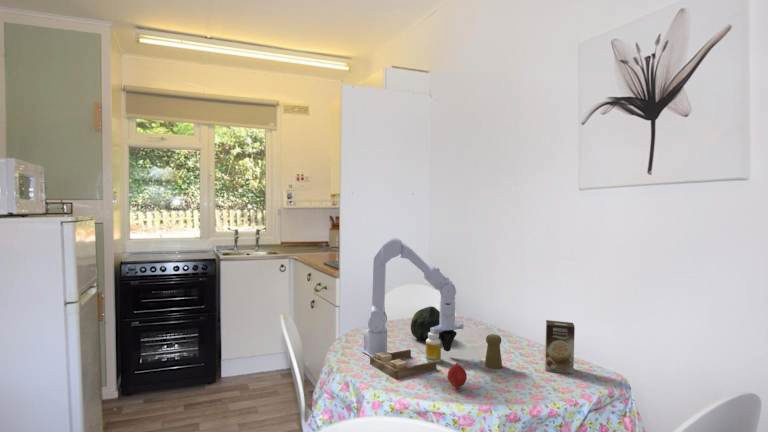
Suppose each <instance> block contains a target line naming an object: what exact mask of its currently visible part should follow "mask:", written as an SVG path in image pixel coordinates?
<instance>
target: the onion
mask: <svg viewBox="0 0 768 432" xmlns="http://www.w3.org/2000/svg"><path fill="white" fill-rule="evenodd" d="M467 375H468V374H467V372H466V370H465V369H464V367H463V366H461V365H460V363H459V362H455V364H454V365H452V366H451V367H450V368H449V369H448V371H447V376H446V377H447V380H448V382H449V384H450V385H451V386H452V387H454V388H455V389H460V388H461V387H462V386H463V385H465V384H466V382H467V379H468V377H467Z"/></svg>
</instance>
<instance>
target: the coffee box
mask: <svg viewBox="0 0 768 432" xmlns="http://www.w3.org/2000/svg"><path fill="white" fill-rule="evenodd" d="M575 331H576V328H575V324H574V323H573V322H569V321H561V320H560V321H559V320H549V319H546V320H545V345H544V370H545V372H546V371H547V372H552V373H553V372H556V373H562V374H568V373H570V375H574V364H575V362H574V361H575Z"/></svg>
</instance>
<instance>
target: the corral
mask: <svg viewBox="0 0 768 432" xmlns="http://www.w3.org/2000/svg"><path fill="white" fill-rule="evenodd" d="M389 354H391V355H392V361H393V360H397V359H400V360H402V359H406V358H411V357H412V350H411V349H405V350H399V351H394V352H390V353H389ZM437 363H438V362H436V361H433V362H429V361H427V362H425V363H419V364H415V365H410V366H407V367H406V368H401V369H397V370H396V369H394V368H392V367H390V366H389V365H387V364H385V363H383V362H381V361H380V360H378V359H376V356H373V357H371V356H369V365H371V366H372V367H374V368H376V369H377V370H379V371H381V372H382V373H384V374H386V375H388V376H389V377H391V378H393V379H394V380H396V379H401V378H404V377H408V376H413V375H417V374H418V375H419V374H421V373H426V372H431V371H435V370H437Z"/></svg>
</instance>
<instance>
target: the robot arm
mask: <svg viewBox="0 0 768 432" xmlns="http://www.w3.org/2000/svg"><path fill="white" fill-rule="evenodd" d="M398 256H399V258H400V259H406V260H409V261H410V263H412V264H413V265H414V266H416V268H418V269H419V270H420V271H421V272H422V273H423V278H424V280H426V281H427V282H428V283H429V284H430V285H431V286H432V287H433V288H434V289H435V290H437V291H439V293H440V300H439V312H440V325H438V326H435V327H432V328H430V333H432V334H436V333H439V336H440V340H441V345H442V348H443V351H444V352H450V351H451V348H452V345H453V342H454V341H455V340H454V339H455V337H456V336H457V330H465V329H464V327H465V326H464V324H465V323H462V322H456V301H455V300H456V295H457V290H456V286H455V283H453V281H452V280H450V278H449V277H447V276H446V275H444V274H443V273H442V272H441V269H440V268H439V267H435V266H429V265H428V264H427V263H426V262H425V261H424V260H423V259H422V258H421V257H420V255H418V254H417V252H415V251H414V250H413V249H412V248H411V246H408V245H407V244H406V243H403V242H402V240H401V239H399V238H391V239H390V240H388V241H387V242H385V243H384V244H383V245H382V246H381V247H380V249H379V250H378V251H377V253H376V254H375V256H374V257H373V265H372V266H373V267H372V294H371V295H372V298H371V300H372V301H371V302H372V303H371V310H370V317H369V318H368V321H367V325H368V328H367V329H366V330H365V331H364V333H363V349H362V350H361V352H362V353H363V354H365V355H368V356H369V357H373V356H376V354H377V353H382V352H387V353H391V352H389V351H388V328H387V327H386V323H387V322H388V316H387V314H386V305H385V302H386V299H385V297H386V275H387V273H386V271H387V269H386V268H387V267H386V266H387V263H389V261H391V260H392V259H394V258H396V257H398ZM455 330H456V331H455Z"/></svg>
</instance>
